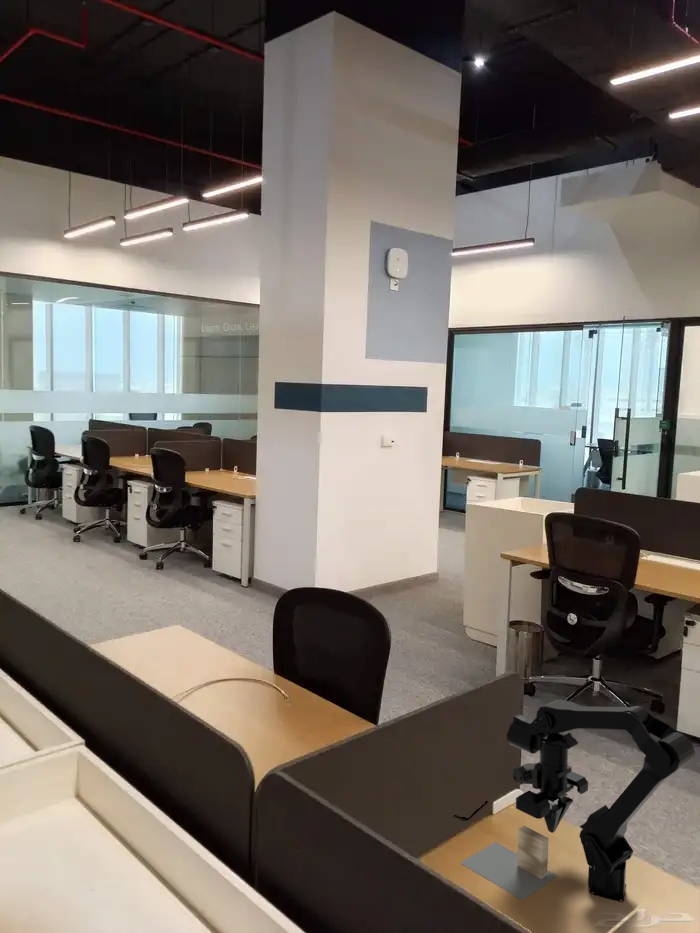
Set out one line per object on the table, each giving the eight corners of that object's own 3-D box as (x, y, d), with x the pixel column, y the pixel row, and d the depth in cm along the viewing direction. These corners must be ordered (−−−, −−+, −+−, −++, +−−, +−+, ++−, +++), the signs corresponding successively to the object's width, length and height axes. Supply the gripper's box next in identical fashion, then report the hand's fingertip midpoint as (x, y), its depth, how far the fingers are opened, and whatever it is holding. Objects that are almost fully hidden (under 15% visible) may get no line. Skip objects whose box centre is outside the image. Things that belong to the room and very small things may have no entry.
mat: (557, 878, 155) (557, 875, 155) (522, 903, 147) (522, 900, 147) (495, 844, 167) (495, 841, 167) (459, 865, 159) (459, 862, 159)
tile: (547, 875, 155) (548, 838, 155) (541, 879, 154) (542, 841, 154) (523, 861, 160) (524, 825, 159) (517, 865, 159) (518, 829, 158)
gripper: (546, 736, 172) (544, 801, 173) (495, 760, 160) (493, 831, 161) (590, 753, 164) (588, 822, 165) (540, 780, 151) (538, 854, 152)
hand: (551, 831), depth 161 cm, fingers closed
